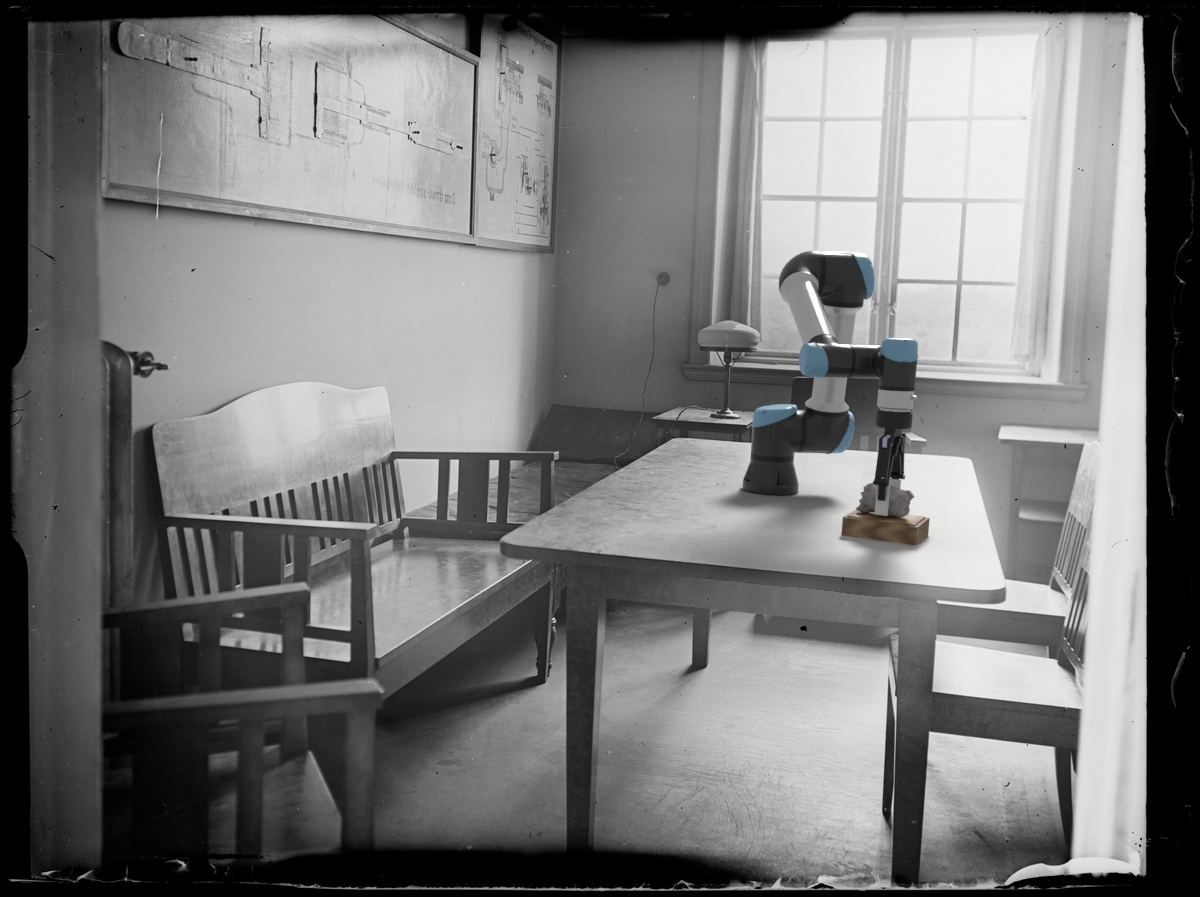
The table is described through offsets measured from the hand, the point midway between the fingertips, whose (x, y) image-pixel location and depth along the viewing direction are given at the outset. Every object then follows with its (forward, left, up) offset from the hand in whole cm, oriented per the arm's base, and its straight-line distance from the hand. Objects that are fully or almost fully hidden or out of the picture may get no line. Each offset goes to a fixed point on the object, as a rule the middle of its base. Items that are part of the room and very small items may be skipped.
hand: (886, 511), depth 211 cm
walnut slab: (0, 0, -5) cm, 5 cm away
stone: (-1, 0, -1) cm, 1 cm away
